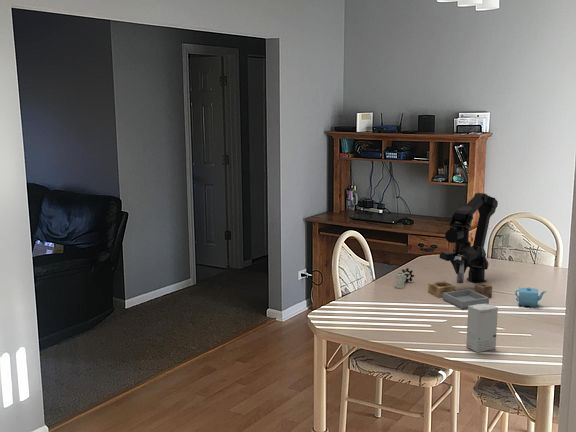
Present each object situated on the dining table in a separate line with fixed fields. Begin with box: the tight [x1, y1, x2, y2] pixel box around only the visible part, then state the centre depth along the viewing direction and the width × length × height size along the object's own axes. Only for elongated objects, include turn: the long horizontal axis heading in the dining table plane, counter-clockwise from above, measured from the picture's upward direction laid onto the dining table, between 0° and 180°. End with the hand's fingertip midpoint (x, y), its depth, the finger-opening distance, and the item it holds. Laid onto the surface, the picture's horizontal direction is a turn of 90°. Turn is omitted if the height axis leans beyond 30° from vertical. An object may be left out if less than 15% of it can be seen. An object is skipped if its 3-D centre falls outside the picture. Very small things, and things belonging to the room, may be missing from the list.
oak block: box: [427, 280, 456, 298], centre depth 274 cm, size 8×8×4 cm
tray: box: [442, 288, 490, 310], centre depth 263 cm, size 13×13×3 cm
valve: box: [394, 267, 415, 289], centre depth 287 cm, size 7×7×12 cm
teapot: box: [514, 286, 548, 309], centre depth 258 cm, size 12×6×8 cm, turn 70°
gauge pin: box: [455, 259, 465, 284], centre depth 279 cm, size 3×3×10 cm
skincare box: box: [465, 303, 499, 353], centre depth 215 cm, size 8×6×15 cm
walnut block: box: [474, 282, 493, 299], centre depth 270 cm, size 5×5×5 cm
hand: (460, 273), depth 279 cm, fingers closed on gauge pin, 3 cm apart
